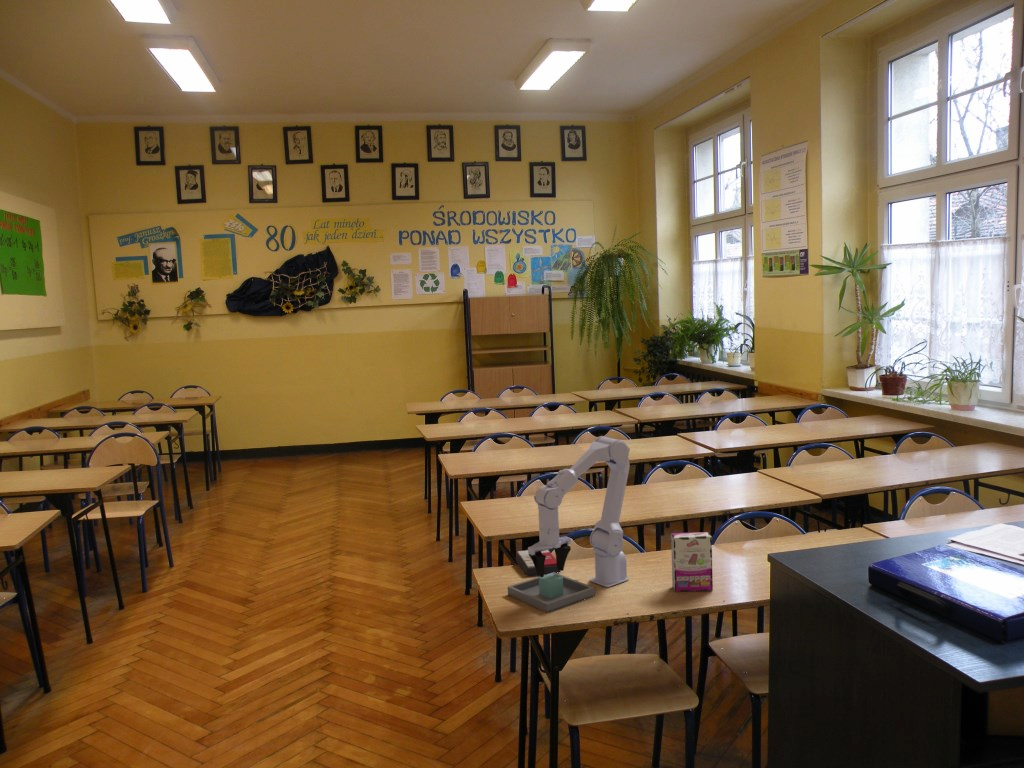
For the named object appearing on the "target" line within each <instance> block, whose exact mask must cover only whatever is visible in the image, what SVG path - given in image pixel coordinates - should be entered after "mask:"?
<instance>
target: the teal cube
mask: <svg viewBox="0 0 1024 768" xmlns="http://www.w3.org/2000/svg"><path fill="white" fill-rule="evenodd" d="M538 577H539V576H538ZM539 594H541V595H543V596H545V597H547V598H550V599H551V598H554V597H557V596H560V595H563V594H564V593H563V578H562V577H560V576H557V575H555V574H552V573H551V574H548V575H545V576H544V577H539Z"/></svg>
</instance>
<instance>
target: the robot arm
mask: <svg viewBox="0 0 1024 768" xmlns="http://www.w3.org/2000/svg"><path fill="white" fill-rule="evenodd" d="M627 444H628V443H626V442H625V441H624V440H622V439H617V438H611V437H608V436H605V435H600V436H598V437H597V438H596V439H595V440H594V441H592V442H591V443H590V445H589V448H588V449H587V450H586V451H585V453H583V455H581V457H580V458H578V460H577V461H575V463H574V464H573V465H572V466H571V467H570V468H563V469H560V470H558V473H557V474H556V475H555V476H554V477H553V478H552V479H551V480H550V481H548V482H547V483H546V485H541V486H540V487H539V488H537V490H536V492H535V494H534V495H533V499H534V502H535V504H537V509H538V530H539V531H538V532H539V533H538V534H539V541H538V542H535V543H534V544H533V545H531V546H528V547H527V550H528V554H529V556H530V558H531V559H532V561H533V563H534V566H535V569H536V572H537V576H536V577H544V563H545V558H546V556H545V555H543V554H542V553H541V552H542V551H545V550H549V551H550V550H551V549H554V555H555V559H556V564H557V569H558V570H560V572H561V571H562V572H563V571H564V570H565V564H566V561H567V559H568V555H569V553H570V551H571V549H572V547H571V546H570V545H571V537H568V536H566V535H565V536H561V537H560V527H559V526H560V525H559V524H560V521H559V506H561V505H562V502H563V498H564V497H565V495H566V494H567V493H568V492H570V491H571V490H572V488H574V487H575V486H576V485H577V484H578V482H579V481H578V478H579V477H580V476H581V475H583V474H584V473H585V472H586V471H588V470H589V469H590V468H591V467H592V466H594V465H595V464H596V463H597V462H605V464H607V465H608V467H609V469H610V470H609V471H610V472H609V476H608V481H607V486H606V492H605V497H604V501H603V507H602V511H601V517H600V519H599V520H598V521H596V522H595V524H594V527H593V530H592V532H591V533H590V536H589V544H590V545H591V546H592V547H593V551H594V569H595V570H594V577H592V578H589V579H588V580H589V582H592V583H595V584H597V585H599V586H603V587H604V588H610V587H613V586H616V585H618V584H621V583H624V582H627V581H629V580H630V578H628V577H627V576H628V572H627V571H628V569H627V568H628V567H627V562H628V561H627V557H626V554H625V553H624V552H623V549H624V538H623V537H624V530H623V528H622V527H621V525H620V518H621V515H622V514H621V513H622V508H623V504H624V498H625V492H626V489H627V483H628V478H629V472H630V466H631V465H630V459H629V458H630V457H629V455H630V447H629V446H628V445H627Z"/></svg>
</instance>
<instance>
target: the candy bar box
mask: <svg viewBox="0 0 1024 768" xmlns="http://www.w3.org/2000/svg"><path fill="white" fill-rule="evenodd" d="M670 539H671V540H670V541H671V543H670V544H671V545H670V546H671V576H672V577H671V581H672V583H671V584H672V588H673V590H674V591H675V593H688V592H690V593H691V592H709V591H711V592H712V591H713V590H714V589H713V586H714V585H713V584H714V583H713V538H712V535H711V534H710V533H709V532H708V531H705V532H704V531H702V532H679V533H678V532H677V533H676V532H675V533H671V534H670Z"/></svg>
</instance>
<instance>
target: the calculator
mask: <svg viewBox="0 0 1024 768" xmlns="http://www.w3.org/2000/svg"><path fill="white" fill-rule="evenodd" d="M541 553H542V554H543V555H545V556H546V558H545V563H544V574H549V573H552V572H555V573H557V572H560V573H561V570H558V569H557V564H556V557H555V556H554V555H553V554H552V552H551V551H550V549H549V550H545V551H542V552H541ZM515 558H516V559H515V562H516V564H517V565H518V566H519V567H520V569H521V570H522V572H523V571H524V572H523V573H524V575H525V576H526V575H527V576H526V577H528V576H529V577H536V576H535V575H537V572H536V569H535V566H534V563H533V561H532V559H531V558H530V556H529V554H528V549H526V550H519V551H516V552H515Z"/></svg>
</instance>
